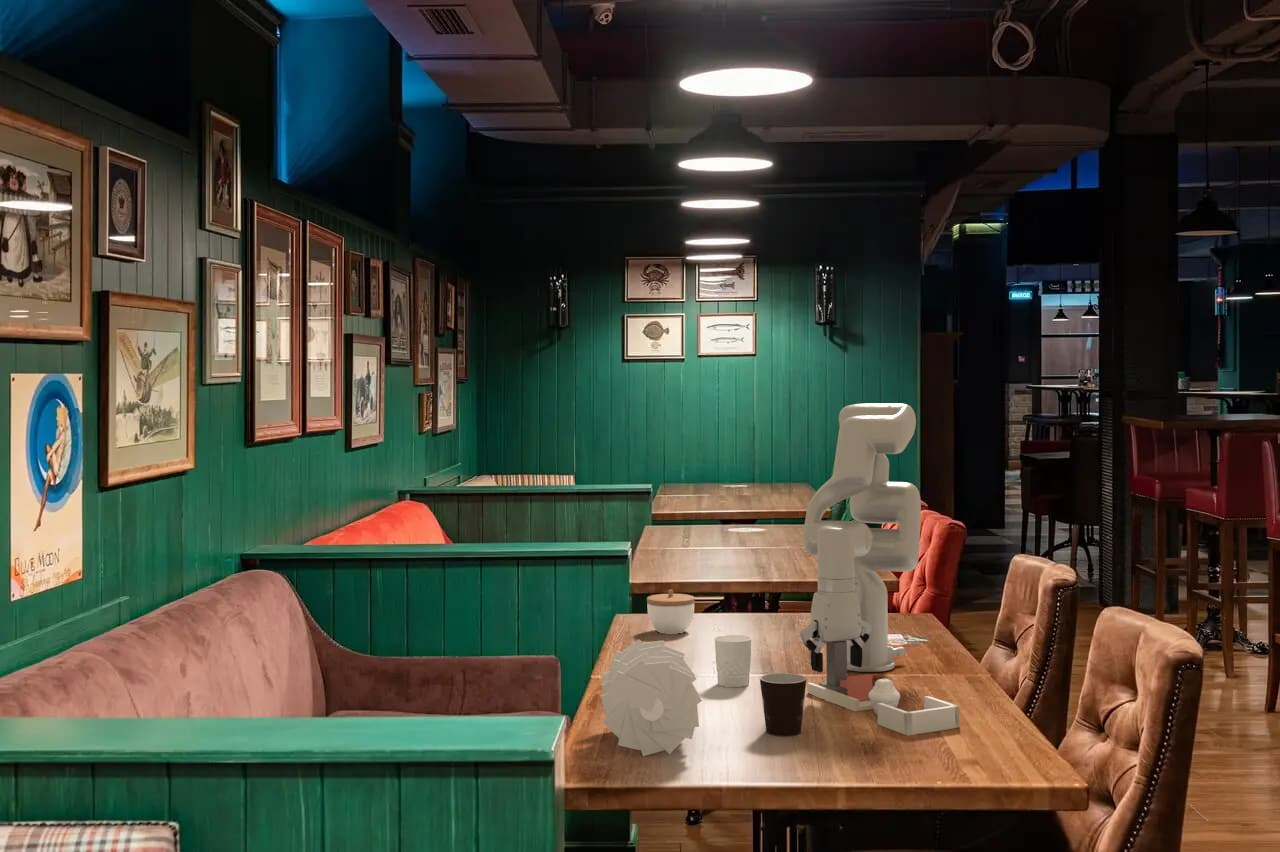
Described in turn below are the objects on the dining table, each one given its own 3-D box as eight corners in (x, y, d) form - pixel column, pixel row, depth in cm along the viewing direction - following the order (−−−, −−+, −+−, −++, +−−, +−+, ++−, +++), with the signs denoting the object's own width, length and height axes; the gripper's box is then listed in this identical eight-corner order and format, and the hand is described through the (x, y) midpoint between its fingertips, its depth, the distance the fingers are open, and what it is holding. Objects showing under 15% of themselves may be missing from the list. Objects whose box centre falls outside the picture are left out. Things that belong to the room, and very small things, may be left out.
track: (839, 689, 272) (839, 678, 272) (888, 706, 257) (888, 695, 257) (807, 693, 269) (807, 683, 269) (855, 711, 253) (855, 700, 253)
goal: (928, 716, 249) (928, 696, 249) (959, 727, 241) (959, 706, 241) (877, 724, 243) (877, 703, 243) (907, 735, 235) (907, 713, 235)
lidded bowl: (695, 636, 333) (695, 593, 332) (646, 636, 333) (646, 594, 333) (694, 627, 345) (693, 586, 345) (647, 627, 345) (646, 586, 345)
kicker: (839, 686, 270) (838, 637, 269) (872, 698, 259) (872, 646, 259) (818, 689, 267) (817, 639, 267) (851, 701, 257) (850, 649, 257)
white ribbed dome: (866, 709, 255) (866, 674, 254) (897, 709, 255) (897, 674, 254) (870, 717, 248) (870, 681, 248) (902, 717, 248) (902, 681, 248)
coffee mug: (794, 740, 233) (794, 685, 233) (752, 734, 238) (751, 680, 238) (821, 725, 243) (820, 672, 243) (779, 719, 248) (779, 668, 247)
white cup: (749, 689, 273) (749, 642, 273) (712, 687, 275) (712, 641, 275) (753, 680, 281) (753, 635, 281) (717, 679, 283) (717, 634, 282)
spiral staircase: (669, 745, 245) (678, 778, 220) (585, 707, 245) (584, 735, 220) (709, 657, 246) (723, 680, 221) (625, 619, 246) (629, 637, 221)
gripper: (859, 580, 272) (860, 660, 273) (790, 586, 265) (791, 669, 265) (881, 584, 266) (882, 667, 266) (810, 591, 258) (811, 676, 259)
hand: (836, 668), depth 266 cm, fingers open, 9 cm apart
